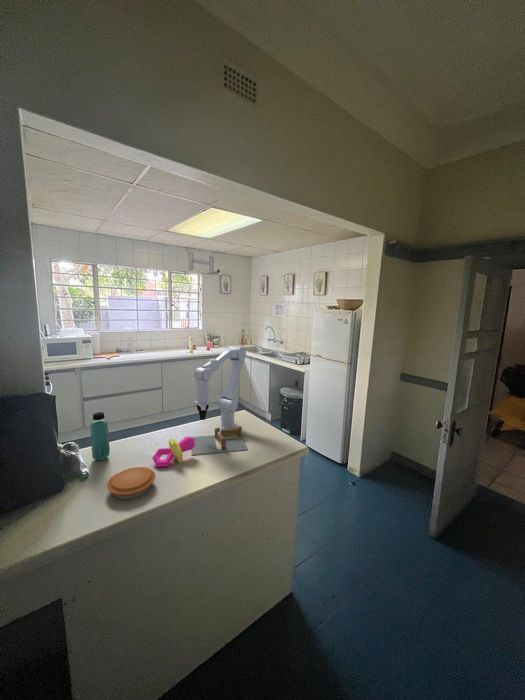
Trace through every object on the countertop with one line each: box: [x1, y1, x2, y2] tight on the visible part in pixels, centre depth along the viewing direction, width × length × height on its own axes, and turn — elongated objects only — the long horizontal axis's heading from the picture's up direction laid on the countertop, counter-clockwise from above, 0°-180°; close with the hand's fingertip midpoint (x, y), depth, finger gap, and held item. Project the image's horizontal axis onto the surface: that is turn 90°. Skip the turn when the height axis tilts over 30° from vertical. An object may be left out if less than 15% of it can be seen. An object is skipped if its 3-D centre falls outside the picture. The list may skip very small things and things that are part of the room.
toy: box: [151, 436, 195, 468], centre depth 117 cm, size 10×18×10 cm, turn 125°
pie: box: [106, 466, 156, 500], centre depth 98 cm, size 15×16×5 cm
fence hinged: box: [217, 431, 226, 449], centre depth 131 cm, size 10×2×5 cm, turn 24°
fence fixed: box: [214, 425, 242, 439], centre depth 139 cm, size 2×13×5 cm, turn 105°
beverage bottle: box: [89, 411, 111, 461], centre depth 115 cm, size 6×7×20 cm
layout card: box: [190, 433, 249, 456], centre depth 133 cm, size 17×25×1 cm
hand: (202, 419), depth 136 cm, fingers closed
